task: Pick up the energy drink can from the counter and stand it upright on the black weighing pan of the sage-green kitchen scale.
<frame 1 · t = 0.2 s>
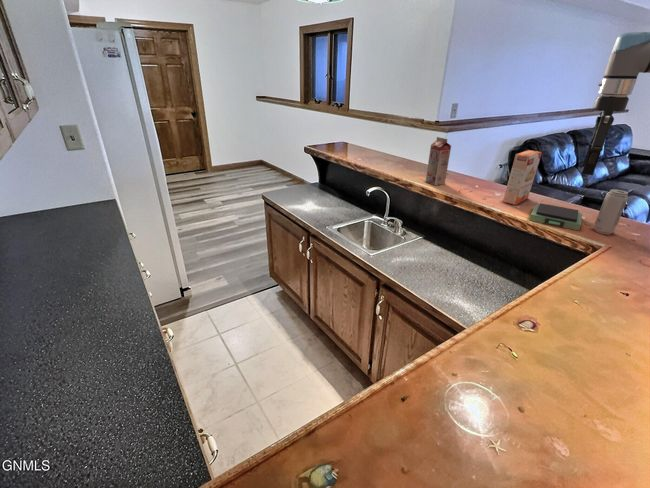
hand: (587, 169, 109), 24 cm above the counter, tool pointing down, fingers open, 13 cm apart
cracker box: (515, 201, 154), on the counter
scale pan: (557, 211, 133), point 3 cm above the counter, slide at 0.0 cm
juice carton: (434, 183, 176), on the counter
scale: (554, 219, 134), on the counter
energy drink can: (602, 232, 125), on the counter
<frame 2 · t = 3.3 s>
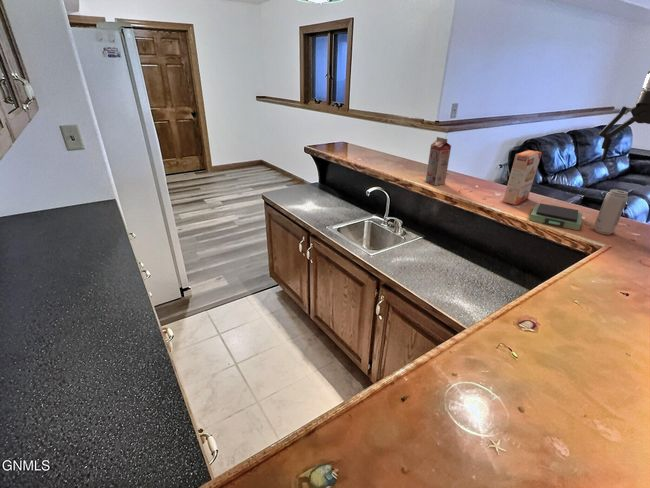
hand: (628, 162, 113), 25 cm above the counter, tool pointing down, fingers open, 13 cm apart
nothing on the counter moved.
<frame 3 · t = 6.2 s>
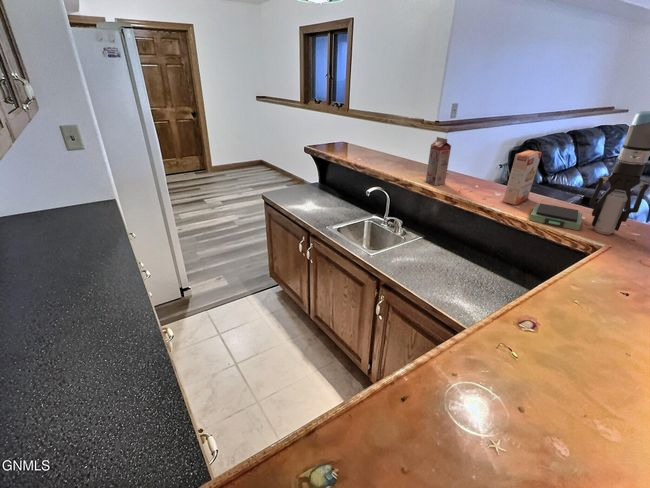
hand: (604, 226, 124), 2 cm above the counter, tool pointing down, fingers closed on energy drink can, 6 cm apart
energy drink can: (602, 232, 125), on the counter, touching gripper
everything else where it was.
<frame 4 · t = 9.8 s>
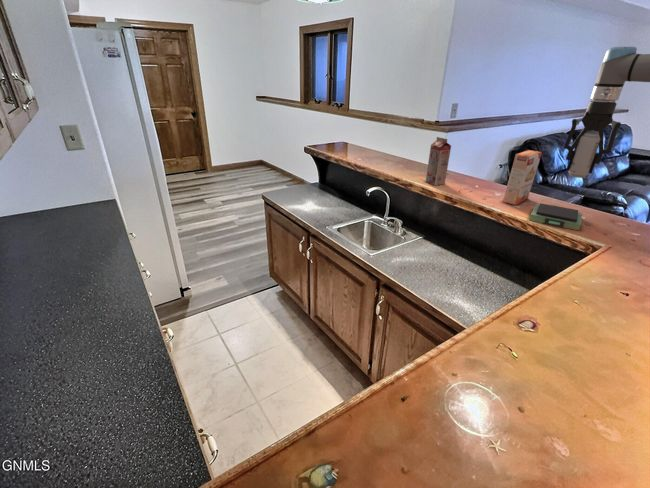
hand: (578, 170, 124), 19 cm above the counter, tool pointing down, fingers closed on energy drink can, 6 cm apart
energy drink can: (576, 176, 125), point 17 cm above the counter, touching gripper
everything else where it was.
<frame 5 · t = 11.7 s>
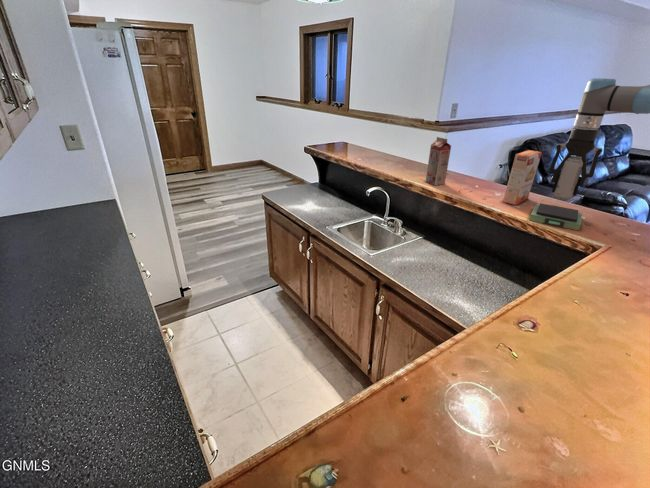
hand: (563, 192, 130), 11 cm above the counter, tool pointing down, fingers closed on energy drink can, 6 cm apart
energy drink can: (561, 198, 130), point 9 cm above the counter, touching gripper
everything else where it was.
when the fingers open (5 cm above the counter, at t = 13.3 s): energy drink can stays where it is, resting on scale pan.
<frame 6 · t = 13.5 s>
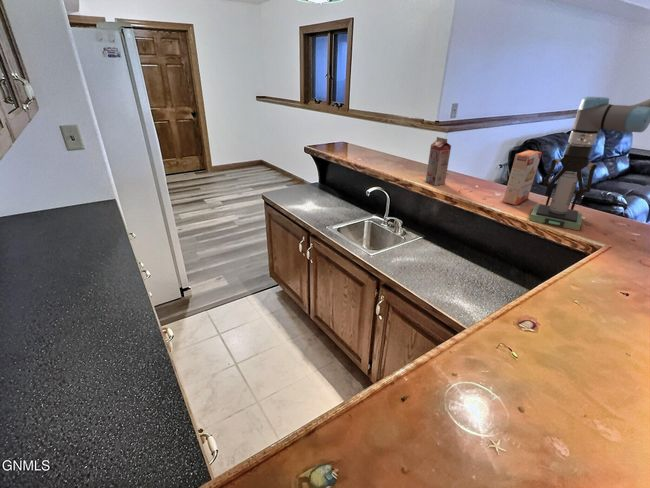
hand: (559, 206, 132), 5 cm above the counter, tool pointing down, fingers open, 7 cm apart
scale pan: (557, 212, 133), point 3 cm above the counter, slide at -0.3 cm, touching energy drink can
energy drink can: (557, 212, 133), point 3 cm above the counter, touching scale pan
everything else where it was.
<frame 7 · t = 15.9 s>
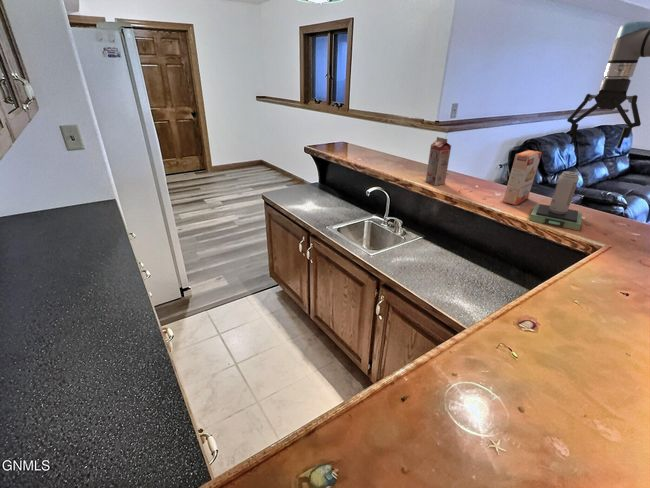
hand: (594, 145, 122), 28 cm above the counter, tool pointing down, fingers open, 13 cm apart
nothing on the counter moved.
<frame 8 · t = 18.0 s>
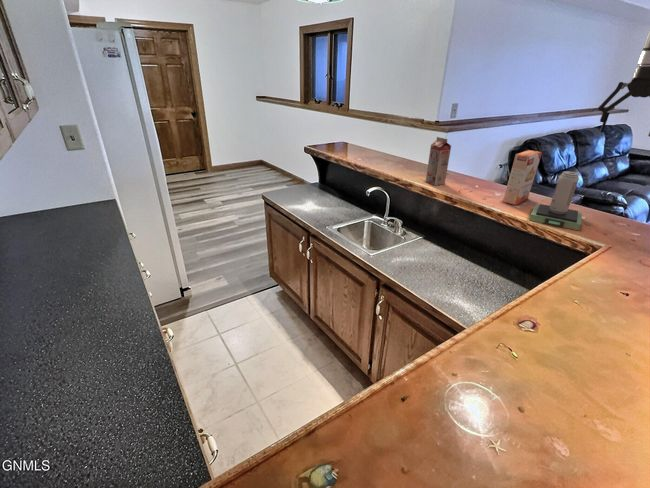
hand: (624, 134, 122), 32 cm above the counter, tool pointing down, fingers open, 13 cm apart
nothing on the counter moved.
at the end: energy drink can inside the target area on the scale pan (0.0 cm from its centre), point 0.6 cm above the scale pan's base; energy drink can tilted 0°; the gripper is holding nothing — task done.
